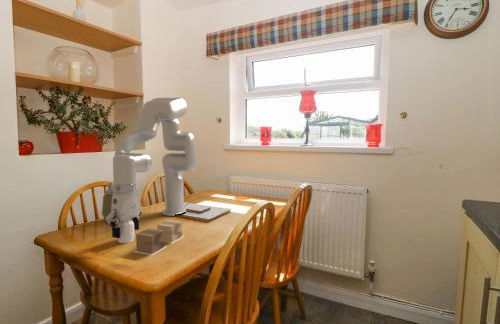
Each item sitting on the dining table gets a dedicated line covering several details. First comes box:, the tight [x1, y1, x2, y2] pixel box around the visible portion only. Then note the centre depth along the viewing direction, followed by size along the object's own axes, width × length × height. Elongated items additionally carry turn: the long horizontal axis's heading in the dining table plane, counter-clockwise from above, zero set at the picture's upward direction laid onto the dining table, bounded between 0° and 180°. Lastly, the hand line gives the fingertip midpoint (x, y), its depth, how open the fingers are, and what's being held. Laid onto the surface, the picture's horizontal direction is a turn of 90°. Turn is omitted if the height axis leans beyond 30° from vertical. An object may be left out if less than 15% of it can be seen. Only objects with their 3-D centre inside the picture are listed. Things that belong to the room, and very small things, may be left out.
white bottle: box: [117, 218, 135, 244], centre depth 105 cm, size 6×12×6 cm
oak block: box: [156, 219, 183, 243], centre depth 107 cm, size 6×6×6 cm
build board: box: [133, 235, 185, 257], centre depth 103 cm, size 22×14×1 cm, turn 160°
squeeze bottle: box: [101, 182, 114, 222], centre depth 133 cm, size 8×8×18 cm
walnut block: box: [135, 228, 165, 254], centre depth 97 cm, size 6×6×6 cm
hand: (126, 233), depth 105 cm, fingers open, 9 cm apart
